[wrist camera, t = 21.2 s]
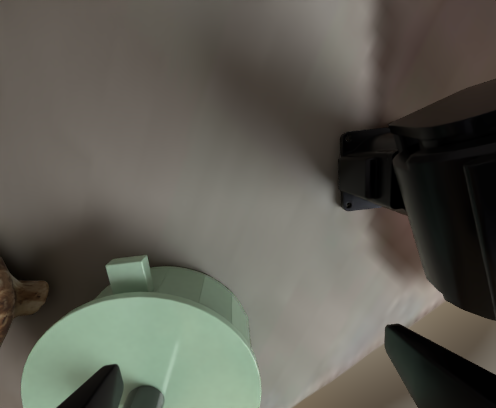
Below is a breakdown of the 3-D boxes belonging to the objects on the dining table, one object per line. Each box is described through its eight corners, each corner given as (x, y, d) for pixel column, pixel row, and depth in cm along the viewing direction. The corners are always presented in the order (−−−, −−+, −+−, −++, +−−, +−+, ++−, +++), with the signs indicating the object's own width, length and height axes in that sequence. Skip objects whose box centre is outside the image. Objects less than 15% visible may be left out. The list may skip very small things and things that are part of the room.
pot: (237, 227, 20) (238, 253, 15) (259, 410, 24) (266, 478, 19) (56, 249, 19) (-9, 284, 14) (114, 432, 24) (81, 509, 19)
